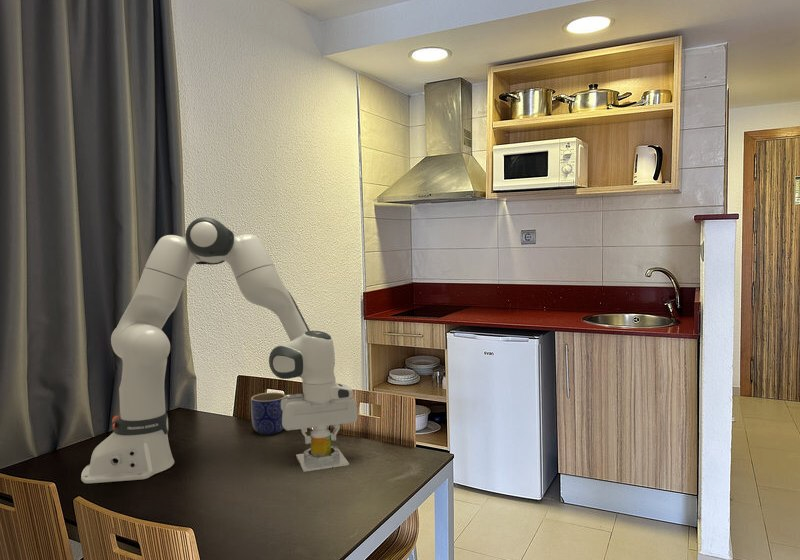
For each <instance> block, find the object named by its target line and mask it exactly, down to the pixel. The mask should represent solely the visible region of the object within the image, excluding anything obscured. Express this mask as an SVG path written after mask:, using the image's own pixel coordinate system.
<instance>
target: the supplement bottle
mask: <svg viewBox="0 0 800 560" xmlns="http://www.w3.org/2000/svg"><path fill="white" fill-rule="evenodd" d="M328 428H329V426H324V425H319V426H318V427H313V428H312V429H313V430H311V431H310V435H309V436H311V442H312V443H311V444H310V448H311V455H313V456H325V455H330V454H331V446H332V444H331V443H332V441H331V436H330V433H331V430H329V429H328Z"/></svg>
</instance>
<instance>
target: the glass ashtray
mask: <svg viewBox="0 0 800 560" xmlns="http://www.w3.org/2000/svg"><path fill="white" fill-rule="evenodd" d="M295 456H296V457H295V458H296V459H297V461H298V463H299V465H300V467H301V469H302V471H303V472H304V473H305V472H311V471H319V470H326V469H331V468H332V467H333V468H340V467H346V466H349V465H350V462H349V461H348V460H347V458H346V457H345V456H344V454H343V453H342V452H341V450H340V449H339V448H338V447H337V446H332V445H331V454H330V455H325V456H313V455H311V447H309V448H308V449H306V450H304V451H303V453H298V454H295ZM333 468H332V469H333Z"/></svg>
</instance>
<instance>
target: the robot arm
mask: <svg viewBox="0 0 800 560" xmlns="http://www.w3.org/2000/svg"><path fill="white" fill-rule="evenodd" d="M225 262H226V263H227V264H228V266H229V267H230V269H231V270H232V273H233V275H234V278H235V281H236V284H237V286H238V288H239V290H240V292H241V294H242V295H243V297H244V299H246V300H247V301H248V302H249V303H251V304H254V305H256V306H259V307H263V308H265V309H267V310H270V312H272V313H274V314H275V315H276V316H277V318H278V319H279V320H280V323H281V325H282V326H283V328H284V331H285V332H286V333H285V334H287V337H288V339H289V341H288V342H285V343H282V344H280V345H277V346H275V347H274V348H273V349H272V350H271V351H270V353H269V356H268V364H269V369H270V370H271V373H272V374H273V375H274V376H276V377H277V378H279V379H282V380H290V379H294V378H301V381H302V393H301V392H300V393H295V394H294V393H293V394H291V393H290V394H285V395H286V396H285V397H283V398H282V400H281V410H282V411H283V414H282V426H283V429H284V430H285V431H287V432H288V431H296V430H300V432H301V433H302V435H303V436H304V444H305V445H311V443H312V442H311V436H310V435H307V434H306V433H307V432H308V429H310V428H312V429H313V427H318V426H319V425H324V426H328V427H329V426H333V431H332V432H330V436H331V442H334V441H337V435H338V433H339V430H340V429H341V425H345V424H353V423H356V422H357V420H358V418H359V417H358V415H359V414H358V407H357V403H356V401H355V399H354V398H353V395H354V392H353V389H352V388H351V387H350V386H349V385H346V384H342V383H337V382H336V376H335V366H336V357H335V356H336V355H335V354H336V353H335V346H334V340H333V339H332V338H333V337H332V336H331V335H330V334H328V333H327V332H325V331H320V330H310V328H309V325H308V324H307V322H306V320H305V319H304V317H303V314H302V313H301V311H300V309H299V306H298V305H297V302H296V300H295V299H294V297H293V296H292V294H291V293H290V291H289V290H288V289H287V287H286V286H285V284H284V283H283V281H282V279H281V277H280V276H279V274H278V273H279V272H278V271H277V269H276V267H275V264H274V262H273V260H272V257H271V256H270V254H269V252H268V250H267V248H266V246H265V245H264V243H263V242H262V240H261V238H260V237H258V236H257V235H256V234H253V233H244V234H240V235H237V236H236V235H235V233H234V232H233V231H232V230H230V229H229V228H228V227H226V226H225V225H224V224H223V223H222V222H220V221H219V220H217V219H215V218H212V217H207V216H203V217H199V218H196V219H194V220H193V221H191V222H190V223H189V224H188V226H187V228H186V230H185V236H180V235H176V234H167V235H163V236H162V237H160V238H159V239H158V241H157V242H156V244H155V245H154V247H153V249H152V250H151V252H150V255H149V257H148V258H147V260H146V263H145V266H144V268H143V271H142V274H141V276H140V278H139V281H138V284H137V286H136V289H135V291H134V294H133V296H132V298H131V299H130V302H129V304H128V305H127V307H126V309H125V311H124V313H123V314H122V316H121V318H120V320H119V322H118V323H117V326H116V328H114V330H113V331H112V333H111V335H110V344H111V347H112V350H113V352H114V354H115V355H116V356H118V357H119V358H120V359H121V360H122V372H121V380H120V385H119V388H118V393H119V411H120V412H119V413H120V415H114V416H113V417H112V421H111V423H112V433H111V434H110V435H109V436H108V437H106V438H104V440H103V441H101V442H100V443H99V444H98V445H96V446H95V448H94V449H93V451H92V454H91V458H90V463H89V464H87V465H86V466H85V467H84V468H83V470H82V472H81V475H80V476H81V477H80V480H81V482H83V484H98V483H112V482H124V481H137V480H138V481H139V480H146V479H149V478H150V477H152V476H154V475H156V474H158V473H162V472H163V471H166V470H168V469H170V468H172V466H173V465H174V464H175V459H174V457H173V454H172V450H171V447H170V443H169V437H168V433H169V417H168V413H167V411H166V400H165V399H166V397H165V395H166V394H165V379H166V371H167V364H168V357H169V354H170V353H171V341H170V340H169V338H168V336H167V334H165V332H164V331H163V330H162V329H163V327H164V326H165V324H166V322H167V320H168V318H170V316H171V315H172V313H173V312H174V311H175V309H176V308H177V306H178V304H179V301H180V297H181V295H182V292H183V290H184V286H185V284H186V281H187V278H188V276H189V272H190V271H191V269H192V267H193V266H194V265H208V266H209V265H211V266H213V265H215V266H216V265H220V264H223V263H225ZM285 398H286V399H285Z"/></svg>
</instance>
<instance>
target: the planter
mask: <svg viewBox="0 0 800 560" xmlns="http://www.w3.org/2000/svg"><path fill="white" fill-rule="evenodd" d="M286 395H287V394H285V393H282V392H262V393H258V394H255V395H253V396H251V397H250V414H251V415H250V416H251V424H252V427H253V430H255V432H257V434H260V435H264V436H265V435H274V434H278V433H280V432H281V431H282V430H283V429H284V428H283V426H282V414H283V411H282V410H281V400H282V398H283V397H285V396H286ZM285 399H286V398H285Z"/></svg>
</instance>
